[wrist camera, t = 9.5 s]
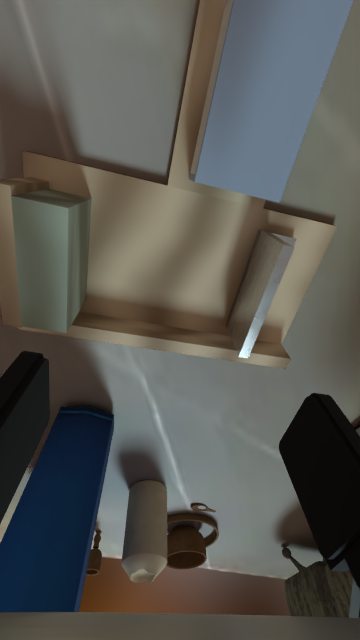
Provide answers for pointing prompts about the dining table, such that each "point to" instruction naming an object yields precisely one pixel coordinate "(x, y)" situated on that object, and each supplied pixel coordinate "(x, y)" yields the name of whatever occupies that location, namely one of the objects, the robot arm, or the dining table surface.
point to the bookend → (258, 288)
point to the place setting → (173, 543)
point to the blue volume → (57, 516)
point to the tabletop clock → (318, 590)
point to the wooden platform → (147, 246)
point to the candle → (145, 531)
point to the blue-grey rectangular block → (264, 91)
